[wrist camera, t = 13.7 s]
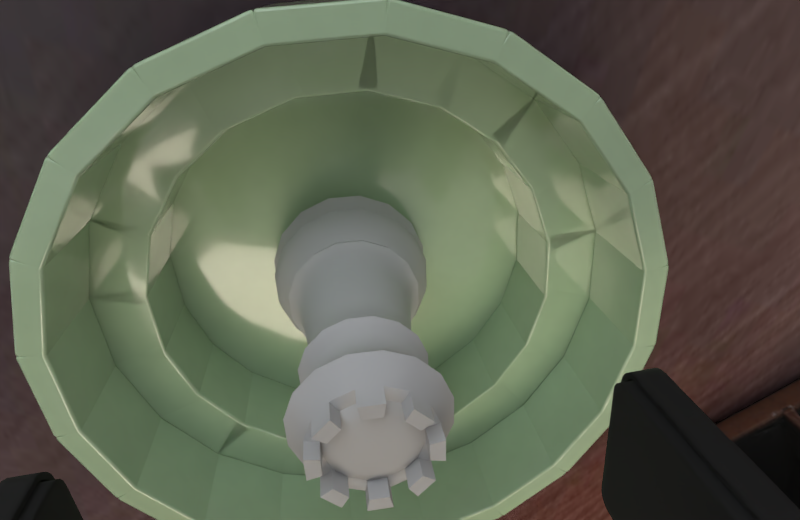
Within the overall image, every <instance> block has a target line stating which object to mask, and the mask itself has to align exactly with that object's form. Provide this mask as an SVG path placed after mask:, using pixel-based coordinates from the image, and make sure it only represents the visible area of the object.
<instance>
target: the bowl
mask: <svg viewBox="0 0 800 520" xmlns="http://www.w3.org/2000/svg"><path fill="white" fill-rule="evenodd" d="M350 196H363V197H366V198H369V199H373V200H376V201H380V202H383V203H386V204H389V205H390V206H392V207H393V208H394V209H395V210H397V211H398V212H399V213H400V214H401V215H403V216H404V217H405V218H406V219H408V220H409V221H410V222H411V223H412V225H413V227H414V229H415V231H416V233H417V235H418V237H419V239H420V241H421V243H422V245H423V255H424V257H425V259H426V280H427V286H426V292H425V294H424V296H423V299H422V301H421V304H420V306H419V308H418V311H417V313H416V315H415V316H414V317H413V319H412V321H411V331H412V332H414V333H415V334H417V335H418V337H419V339H420V340H421V342H422V344H423V346H424V347H425V349H426V351H427V353H428V365H429V366H430V367H431V368H433V369H434V370H436V371H437V372H439V373H440V374H441V375H442V376H443V378H444V380H445V382H446V384H447V385H448V387H449V389H450V391H451V393H452V394H453V396H454V424H453V426H452V428H451V430H450V432H449V434H448V436H447V438H446V461H431V462H432V466H433V470H434V474H435V478H436V481H435V482H434V483H432V484H431V485H430V486H429V487H428V488H427V489H426V490H424V491H423V492H422V493H421V494H420V495H419V496H417V495H416V494H414V493H413V492H412V491H411V490H410V489H409V488H408V482H407V480H405V481H403V482H401V483H399V484H396V485H394V486H392V487H391V492H392V499H393V505H394V507H391V508H385V509H378V510H372V511H367V503H366V493H365V491H363V490H356V489H349V498H348V500H347V501H346V503H345V504H344V505H343V507H342V508H341V507H339V506H337V505H335V504H333V503H331V502H329V501H327V500H325V499H323V498H321V497H320V477H318V478H314V479H311V480H307V481H306V475H305V469H304V465H303V463H302V462H301V461H300V460H299V458H298V457H297V456H296V455H295V453H294V452H293V451H292V450H291V449H290V447H289V446H288V443H287V438H286V432H285V427H284V422H283V419H284V416H285V413H286V410H287V407H288V404H289V401H290V398H291V395H292V393H293V392H294V391H295V390H296V389H297V388H298V386H299V385H300V380H299V374H298V368H299V365H300V362H301V359H302V356H303V353H304V350H305V348H306V347H307V346H308V344H307V339H306V337H305V336H304V334H303V333H302V332H301V331H300V330H298V329H297V328H296V327H295V326H294V324H293V323H292V321H291V320H290V318H289V317H288V316H287V314H286V313H285V311H284V310H283V308H282V307H281V305H280V302H279V299H278V293H277V287H276V281H275V272H276V269H275V263H274V260H275V256H276V253H277V249H278V246H279V242H280V239H281V236H282V234H283V232H284V231H285V230H286V229H287V228H288V227H289V226H290V224H291V223H292V222H293V221H294V220H295V219H296V217H297V216H298V215H299V214H300V213H301V212H302V211H304V210H306V209H308V208H310V207H312V206H314V205H316V204H318V203H320V202H322V201H324V200H326V199H328V198H339V197H350ZM9 258H10V260H9V271H10V286H11V301H12V316H13V332H14V347H15V355H16V356H17V357H16V359H17V361H18V363H19V365H20V367H21V370H22V372H23V374H24V376H25V378H26V380H27V382H28V384H29V386H30V388H31V390H32V392H33V394H34V396H35V398H36V400H37V402H38V404H39V406H40V408H41V410H42V412H43V414H44V416H45V418H46V420H47V422H48V424H49V426H50V428H51V430H52V432H53V434H54V436H55V437H57V440H58V441H59V442H60V443H61V444H62V445H63V446H64V447H65V448H66V449H67V450H68V451H69V452H70V453H71V454H72V455H73V456H74V457H75V458H76V459H77V460H78V461H79V462H80V463H81V464H82V465H83V466H84V467H85V468H86V469H88V470H89V471H90V472H91V473H92V474H93V475H94V476H95V477H96V478H97V479H98V480H99V481H100V482H101V483H102V484H103V485H104V486H105V487H106V488H107V489H108V490H109V491H110V492H111V493H112V494H113V495H114V496H115V497H119V500H121V501H123V502H125V503H127V504H128V505H130V506H132V507H134V508H136V509H138V510H140V511H142V512H144V513H145V514H147V515H149V516H151V517H153V518H155V519H157V520H495V519H497V518H500V517H501V516H502V515H505V514H507V513H508V512H510V511H511V510H513V509H514V508H516V507H517V506H519V505H520V504H522V503H523V502H524V501H526V500H527V499H529V498H530V497H532V496H533V495H535V494H536V493H538V492H539V491H541V490H542V489H544V488H545V487H547V486H548V485H550V484H551V483H552V482H554V481H555V480H557V479H558V478H560V477H561V476H563V475H564V474H565V473H566V472H567V471H569V470H570V469H571V468H572V466H573V465H574V464H575V463H576V462H577V461H578V460H579V459H580V458H581V457H582V455H583V454H584V453H585V452H586V451H587V450H588V449H589V448H590V447H591V446H592V445H593V443H594V442H595V441H596V440H597V439H598V438H599V437H600V436H601V435H602V434H603V433H604V431H605V430H606V429H607V428H608V427H609V424H610V416H611V407H612V399H613V391H614V386H615V385H616V383H620V382H621V380H622V377H623V375H624V374H625V373H629V372H634V371H640V370H643V368H644V366H645V364H646V362H647V360H648V358H649V356H650V354H651V352H652V351H653V349H654V345H655V344H656V339H657V333H658V327H659V321H660V315H661V309H662V304H663V298H664V292H665V286H666V280H667V274H668V268H669V267H668V259H667V253H666V248H665V243H664V237H663V232H662V227H661V221H660V216H659V210H658V205H657V200H656V194H655V189H654V184H653V181H652V178H651V175H650V174H649V172H648V170H647V169H646V167H645V166H644V164H643V163H642V161H641V159H640V158H639V156H638V155H637V153H636V151H635V150H634V148H633V147H632V145H631V143H630V142H629V140H628V139H627V137H626V136H625V134H624V132H623V131H622V129H621V128H620V126H619V124H618V123H617V121H616V120H615V118H614V117H613V115H612V113H611V112H610V110H609V109H608V107H607V105H606V104H605V102H604V101H603V99H602V98H601V97H600V96H599V94H598V93H596V92H595V91H593V90H592V89H591V88H589V87H588V86H587V85H585V84H584V83H582V82H581V81H580V80H578V79H577V78H576V77H574V76H573V75H571V74H570V73H569V72H567V71H566V70H565V69H563V68H562V67H560V66H559V65H558V64H556V63H555V62H554V61H552V60H551V59H549V58H548V57H547V56H545V55H544V54H543V53H541V52H540V51H538V50H537V49H536V48H534V47H533V46H531V45H530V44H529V43H527V42H526V41H525V40H523V39H522V38H520V37H519V36H518V35H516V34H515V33H514V32H512V31H508V30H507V29H505V28H501V27H497V26H494V25H490V24H486V23H483V22H479V21H475V20H471V19H468V18H464V17H460V16H457V15H453V14H449V13H445V12H442V11H438V10H434V9H431V8H427V7H423V6H420V5H416V4H412V3H408V2H405V1H401V0H309V1H297V2H286V3H275V4H271V5H267V6H263V7H259V8H255V9H252V10H248V11H246V12H244V13H242V14H240V15H237V16H235V17H233V18H231V19H229V20H227V21H225V22H223V23H220V24H218V25H216V26H214V27H212V28H210V29H208V30H206V31H203V32H201V33H199V34H197V35H195V36H193V37H191V38H189V39H186V40H184V41H182V42H180V43H178V44H176V45H174V46H172V47H169V48H167V49H165V50H163V51H161V52H159V53H157V54H155V55H152V56H150V57H148V58H146V59H144V60H142V61H140V62H138V63H135V64H134V65H133V66H132V67H131V68H128V69H127V70H126V71H125V72H124V73H123V74H122V76H121V77H120V78H119V79H118V80H117V81H116V82H115V83H114V84H113V85H112V86H111V87H110V88H109V89H108V90H107V91H106V92H105V94H104V95H103V96H102V97H101V98H100V99H99V100H98V101H97V102H96V103H95V104H94V105H93V106H92V107H91V108H90V109H89V111H88V112H87V113H86V114H85V115H84V116H83V117H82V118H81V119H80V120H79V121H78V122H77V123H76V124H75V125H74V126H73V127H72V129H71V130H70V131H69V132H68V133H67V134H66V135H65V136H64V137H63V138H62V139H61V140H60V141H59V142H58V143H57V144H56V145H55V147H54V148H53V149H52V150H51V151H50V152H49V153H48V156H47V157H46V158H45V160H44V162H43V165H42V168H41V171H40V173H39V176H38V179H37V181H36V184H35V187H34V190H33V192H32V195H31V198H30V201H29V203H28V206H27V209H26V211H25V214H24V217H23V220H22V222H21V225H20V228H19V231H18V233H17V236H16V239H15V241H14V244H13V247H12V250H11V252H10V255H9Z"/></svg>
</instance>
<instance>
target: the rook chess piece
mask: <svg viewBox="0 0 800 520" xmlns="http://www.w3.org/2000/svg"><path fill="white" fill-rule="evenodd" d="M274 263H275V269H276V272H275V281H276V287H277V293H278V299H279V302H280V305H281V307H282V308H283V310H284V311H285V313H286V314H287V316H288V317H289V318H290V320H291V321H292V323H293V324H294V326H295V327H296V328H297V329H298V330H300V331H301V332H302V333H303V334H304V336H305V337H306V339H307V344H308V346H307V347H306V348H305V350H304V353H303V356H302V359H301V362H300V365H299V368H298V374H299V380H300V385H299V386H298V388H297V389H296V390H295V391H294V392H293V393H292V395H291V398H290V401H289V404H288V407H287V410H286V413H285V416H284V419H283V422H284V427H285V432H286V438H287V443H288V446H289V447H290V449H291V450H292V451H293V452H294V453H295V455H296V456H297V457H298V458H299V460H300V461H301V462H302V463H303V465H304V469H305V475H306V481H307V480H311V479H314V478H318V477H320V497H321V498H323V499H325V500H327V501H329V502H331V503H333V504H335V505H337V506H339V507H341V508H342V507H343V505H344V504H345V503H346V501H347V500H348V498H349V489H356V490H363V491H365V493H366V503H367V511H372V510H378V509H385V508H391V507H394V505H393V499H392V492H391V487H392V486H394V485H396V484H399V483H401V482H403V481H405V480H407V482H408V488H409V489H410V490H411V491H412V492H413V493H414V494H416V495H417V496H419V495H420V494H421V493H422V492H423V491H424V490H426V489H427V488H428V487H429V486H430V485H431V484H432V483H434V482H435V481H436V478H435V474H434V470H433V466H432V462H431V461H446V438H447V436H448V434H449V432H450V430H451V428H452V426H453V424H454V396H453V394H452V393H451V391H450V389H449V387H448V385H447V384H446V382H445V380H444V378H443V376H442V375H441V374H440V373H439V372H437V371H436V370H434V369H433V368H431V367H430V366H429V365H428V353H427V351H426V349H425V347H424V346H423V344H422V342H421V340H420V339H419V337H418V335H417V334H415V333H414V332H412V331H411V321H412V319H413V317H414V316H415V315H416V313H417V311H418V308H419V306H420V304H421V301H422V299H423V296H424V294H425V292H426V286H427V280H426V259H425V257H424V255H423V245H422V243H421V241H420V239H419V237H418V235H417V233H416V231H415V229H414V227H413V225H412V223H411V222H410V221H409V220H408V219H406V218H405V217H404V216H403V215H401V214H400V213H399V212H398V211H397V210H395V209H394V208H393V207H392V206H390V205H389V204H386V203H383V202H380V201H376V200H373V199H369V198H366V197H363V196H350V197H339V198H328V199H326V200H324V201H322V202H320V203H318V204H316V205H314V206H312V207H310V208H308V209H306V210H304V211H302V212H301V213H300V214H299V215H298V216H297V217H296V219H295V220H294V221H293V222H292V223H291V224H290V226H289V227H288V228H287V229H286V230H285V231H284V232H283V234H282V236H281V239H280V242H279V246H278V249H277V253H276V256H275V260H274Z"/></svg>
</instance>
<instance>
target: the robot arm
mask: <svg viewBox="0 0 800 520" xmlns="http://www.w3.org/2000/svg"><path fill="white" fill-rule="evenodd" d="M602 497H603V500H604V503H605V506H606V508H607V510H608V512H609V514H610V515H611V517H612V519H613V520H800V509H799V508H798V507H797V506H796V505H795V504H794V503H793V502H792V501H791V500H790V499H789V498H788V497H787V496H786V495H785V494H784V493H783V492H782V491H781V490H780V489H779V488H778V486H777V485H776V484H775V483H774V482H773V481H772V480H771V479H770V478H769V477H768V476H767V475H766V474H765V473H764V472H763V471H762V470H761V469H760V468H759V467H758V466H757V465H756V464H755V463H754V462H753V461H752V460H751V459H750V458H749V457H748V456H747V455H746V454H745V453H744V452H743V451H742V450H741V449H740V448H739V447H738V446H737V445H736V444H735V443H734V442H732V441H731V440H730V439H729V438H728V437H727V436H726V435H725V434H724V433H723V432H722V431H721V430H720V429H719V428H718V427H717V426H716V425H715V424H714V423H713V422H712V421H711V419H710V418H709V417H708V416H707V415H706V414H705V413H704V412H703V411H702V410H701V409H700V408H699V407H698V406H697V405H696V404H695V403H694V402H693V401H692V400H691V399H690V398H689V397H688V396H687V395H686V394H685V393H684V392H683V391H682V390H681V389H680V388H679V387H678V386H677V385H676V383H675V382H674V381H673V380H672V379H671V378H670V377H669V376H668V375H667V374H666V373H665V372H663V371H662V370H661V369H658V368H652V369H646V370H640V371H634V372H629V373H625V374H624V375H623V377H622V380H621V382H620V383H616V385H615V386H614V391H613V399H612V407H611V416H610V424H609V432H608V440H607V448H606V456H605V465H604V473H603V481H602ZM0 520H83V518H82V516H81V514H80V512H79V510H78V508H77V506H76V504H75V502H74V500H73V498H72V496H71V494H70V492H69V490H68V488H67V486H66V484H65V483H64V481H63V480H61V479H56V480H55V479H54V477H53V476H52V474H50V473H48V472H41V473H35V474H29V475H23V476H17V477H12V478H6V479H5V480H3V481H1V483H0Z"/></svg>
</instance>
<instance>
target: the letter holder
mask: <svg viewBox="0 0 800 520" xmlns="http://www.w3.org/2000/svg"><path fill="white" fill-rule="evenodd" d="M716 426H717V427H718V428H719V429H720V430H721V431H722V432H723V433H724V434H725V435H726V436H727V437H728V438H729V439H730V440H731V441H732V442H734V443H735V444H736V445H737V446H738V447H739V448H740V449H741V450H742V451H743V452H744V453H745V454H746V455H747V456H748V457H749V458H750V459H751V460H752V461H753V462H754V463H755V464H756V465H757V466H758V467H759V468H760V469H761V470H762V471H763V472H764V473H765V474H766V475H767V476H768V477H769V478H770V479H771V480H772V481H773V482H774V483H775V484H776V485H777V486H778V488H779V489H780V490H781V491H782V492H783V493H784V494H785V495H786V496H787V497H788V498H789V499H790V500H791V501H792V502H793V503H794V504H795V505H796V506H797V507H798V508H799V509H800V379H798V380H796V381H795V382H793V383H791V384H789V385H787V386H786V387H784V388H782V389H780V390H779V391H777V392H775V393H773V394H771V395H769V396H767V397H765V398H764V399H762V400H760V401H758V402H756V403H754V404H752V405H750V406H749V407H747V408H745V409H743V410H741V411H739V412H737V413H735V414H734V415H732V416H730V417H728V418H727V419H725V420H723V421H721V422H719V423H717V424H716Z"/></svg>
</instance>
